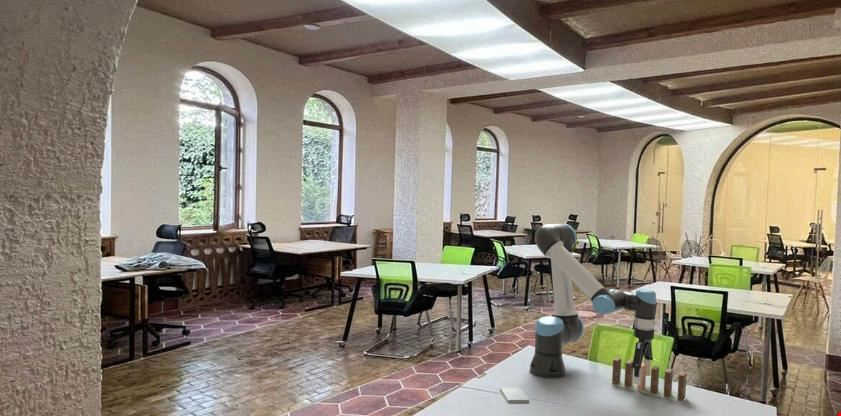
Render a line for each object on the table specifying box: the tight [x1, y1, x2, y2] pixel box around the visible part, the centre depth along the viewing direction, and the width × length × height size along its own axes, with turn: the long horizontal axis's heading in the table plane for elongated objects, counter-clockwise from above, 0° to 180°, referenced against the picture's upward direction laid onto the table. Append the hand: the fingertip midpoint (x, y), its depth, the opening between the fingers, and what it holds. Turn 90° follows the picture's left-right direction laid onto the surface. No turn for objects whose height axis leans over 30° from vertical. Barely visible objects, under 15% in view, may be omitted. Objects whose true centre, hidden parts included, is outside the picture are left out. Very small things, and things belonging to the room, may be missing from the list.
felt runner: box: [607, 379, 688, 404], centre depth 215 cm, size 29×8×1 cm, turn 52°
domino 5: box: [663, 368, 674, 398], centre depth 209 cm, size 2×5×10 cm, turn 142°
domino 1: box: [611, 356, 622, 386], centre depth 221 cm, size 2×5×10 cm, turn 142°
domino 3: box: [637, 362, 647, 392], centre depth 215 cm, size 2×5×10 cm, turn 142°
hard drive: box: [499, 386, 530, 404], centre depth 204 cm, size 2×8×12 cm
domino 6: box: [677, 371, 688, 402], centre depth 206 cm, size 2×5×10 cm, turn 142°
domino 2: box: [624, 359, 634, 389], centre depth 218 cm, size 2×5×10 cm, turn 142°
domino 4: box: [649, 365, 660, 395], centre depth 212 cm, size 2×5×10 cm, turn 142°
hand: (641, 379), depth 215 cm, fingers open, 13 cm apart
